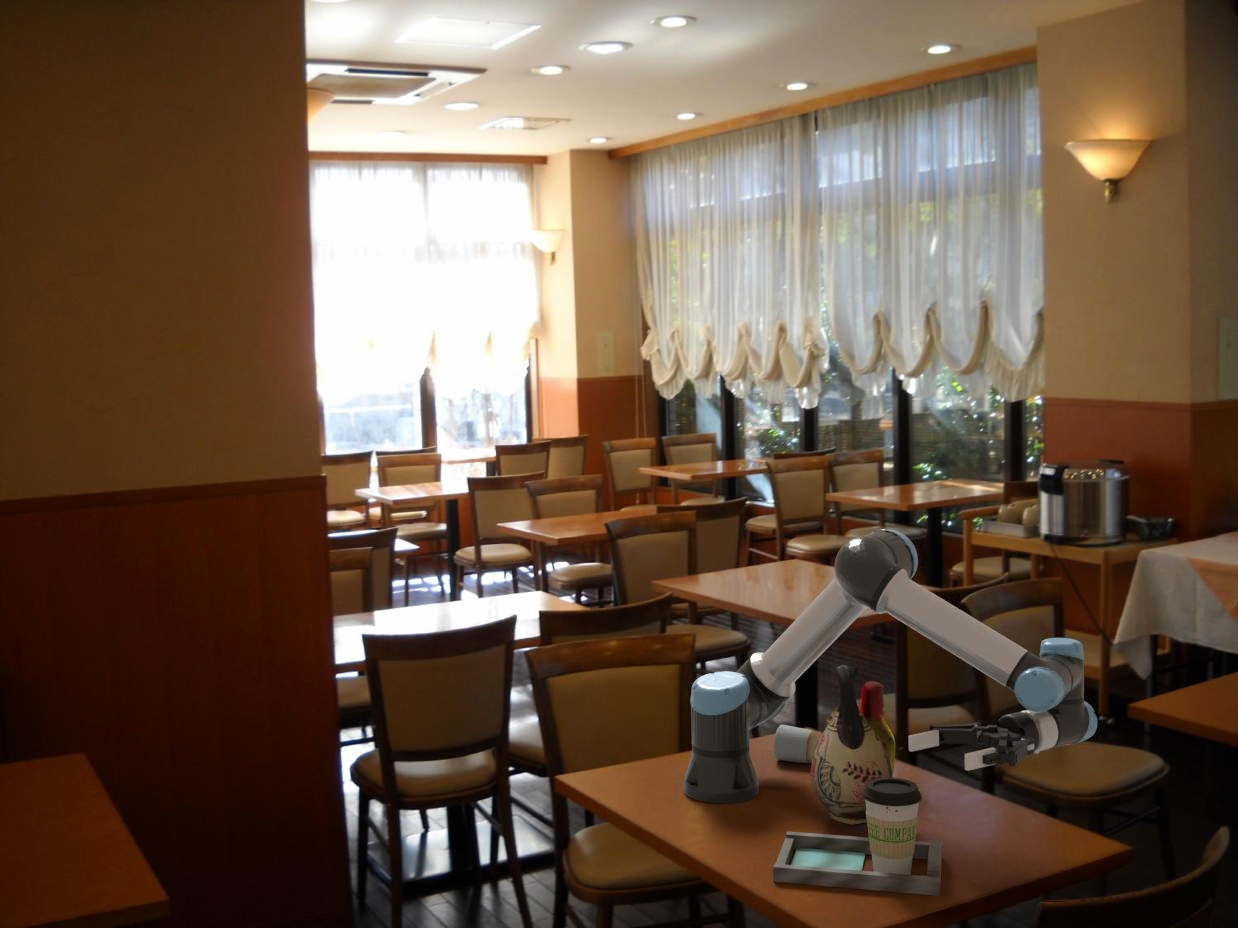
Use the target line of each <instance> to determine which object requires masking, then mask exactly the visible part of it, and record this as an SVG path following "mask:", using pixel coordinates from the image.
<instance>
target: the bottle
mask: <svg viewBox="0 0 1238 928" xmlns="http://www.w3.org/2000/svg"><path fill="white" fill-rule="evenodd" d="M884 688H885V686H884V685H883V684H881V683H880V682H878V681H871V680H869V681H866V682H865V683H864V684H863V686H862V689H861V699H860V701H861V702H860V709H859V711H860V712H861V714H862V715H863V716H864V717H865V719H866V720H867V721H868V723H869V724H870V726H871V727H872V728H873V729H874V731H875V732H876V734H877V735H878V737H879V738H880V740H881V742H882V743H883V745H884V747H885V749H886V752H887V754H888V757H889V760H890V764H891V768H892V776H893V775H894V772H895V762H896V758H895V755H896V740H895V737H894V734H893V732H892V731H891V729H890V727H889V726H888V724H887V723H886V721H885V711H884V708H885V707H884V706H885V704H884Z"/></svg>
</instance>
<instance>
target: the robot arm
mask: <svg viewBox="0 0 1238 928" xmlns="http://www.w3.org/2000/svg"><path fill="white" fill-rule="evenodd" d="M918 564H919V558H918V552H917V549H916V547H915V545H914V544H913V542H912V541H911V539H910V538H909V537H908V536H907V535H905V534H904V533H902V532H900V531H898V530H895V529H884V528H883V529H877V530H874V531H872V532H871V533H868V534H865V535H864V534H863V535H861V536H857V537H854V538H852V539H850V540H848V541H846V542H845V543H844V544H843V545H842V546H841V548H840V549H839V550H838V552H837V554H836V557H835V560H834V569H833V571H834V572H833V573H834V579H833V580H832V581H831V582H830V583H829V584H828V585H827V586H826V587H825V588H824V589H823V590H822V592H821V593H820V594H818V596H817V597H816V598H815V599H814V600H813V601H812V602H811V603H810V604H809V605H808V606H807V607H806V608H805V609H804V610H803V612H802V613H800V615H799V616H798V617H797V618H796V619H795V620H794V621H793V622H792V623H791V624H790V626H788V627H787V628H786V629H785V630H784V631H783V633H781V635H780V636H779V637H778V638H777V639H776V640H775V641H774V642H773V643H772V644H771V645H770V647H769V648H767V650H765V652H754V653H752V655H751V656H750V657H749V658H748V659H747V660H746V661H745V662H744V663H743V664H742V665H741V666H740V667H739V669H737V670H736V671H728V670H725V671H722V670H721V671H715V672H713V673H706V674H704V675H701V676H699V677H698V678H697V679H695V680H694V682H693V683H692V686H691V695H690V699H689V700H690V701H689V702H690V707H691V708H690V709H691V710H690V713H691V716H690V717H691V718H690V719H691V756H690V759H689V763H688V766H687V768H686V769H687V770H686V774H685V776H684V780H683V792H684V794H685V795H686V796H687V797H689V798H691V799H693V800H695V801H696V800H697V801H700V802H705V803H713V804H731V803H740V802H744V801H748V800H751V799H754V798H755V797H756V796H757V795H758V794H759V791H760V790H759V787H760V786H759V779H758V776H757V773H756V772H757V771H756V769H755V767H754V763H753V761H752V758H751V757H752V756H751V753H750V730H752V729H754V728H756V727H757V726H759V725H761V724H763V723H765V722H768V721H770V720H772V719H774V718H775V717H777V716H778V715H779V714H780V713H781V712H782V711H783V709H784V708H785V707H786V705H787V703H788V700H789V699H790V698H791V697H792V696H793V695H794V693H795V692H796V683H795V682H796V681H797V680H798V679H799V678H800V677H801V676H802V675H803V674H804V673H805V672H806V671H808V669H809V668H810V667H811V666H812V665H813V664H814V663H815V662H816V661H817V660H818V659H819V657H821V656H822V655H823V653H824V652H825V651H827V649H828V648H829V647H830V646H831V645H832V644H833V643H834V642H835V641H836V640H837V639H838V638H839V637H840V636H841V635H842V634H843V633H844V632H845V631H846V630H847V629H848V628H849V627H850V625H852V624H853V623H854V622H855V621H856V620H857V619H858V617H860V616H861V615H862V614H863V613H864V611H866V609H869V610H872V611H873V612H875V613H876V614H879V615H881V614H885V613H887V614H888V615H890V616H892V617H893V618H895V619H896V620H897V621H899V622H901V623H902V624H904V625H906V626H908V627H909V628H911V629H912V630H914V631H915V632H917V633H919V634H920V635H922V636H923V637H925V638H927V639H928V640H930V641H931V642H933V643H935V644H936V645H938V646H940V647H941V648H943V649H945V650H946V651H947V652H949V653H951V654H952V655H954V656H956V657H957V658H959V659H961V660H962V661H964V662H965V663H966V664H969V665H970V666H971V667H973V668H975V669H977V670H978V671H980V672H981V673H983V674H985V675H986V676H988V677H990V678H991V679H993V680H994V681H996V682H997V683H999V684H1001V685H1002V686H1004V687H1005V688H1008V689H1009V690H1010V691H1012V692H1013V693H1014V695H1015V697H1016V700H1017V701H1018V702H1019V704H1021V706H1022V707H1023V708H1025V710H1021V711H1017V712H1013V713H1009V714H1004V715H1003V716H1001V717H1000V718H999V719H998V720H997V722H996V724H995V725H993V724H989V725H986V726H983V725H982V723H981V722H977V721H976V722H971V723H957V724H938V725H937V724H936V725H935V724H934V725H933V724H932V725H928V731H924V732H923V731H922V732H919V733H914V734H910V735H908V736H907V737H908V752H912V753H913V752H916V751H917V752H918V751H921V750H925V749H929V748H937V747H938V746H940V744H949V745H950V744H951V745H952V744H954V745H957V744H958V745H959V744H960V745H972V746H973V747H975V748H984V749H980V750H976V751H971V752H967V753H964V770H965V771H973V770H978V769H981V768H985V767H989V766H994V765H996V764H999V765H1006V763H1008V766H1009V767H1016V766H1017V765H1018V764H1019V763H1021V762H1022V761H1023V760H1024V759H1025V758H1027V756H1029V755H1033V754H1035V755H1039V753H1040V752H1042V751H1045V750H1051V749H1054V748H1059V747H1065V746H1069V745H1076V744H1078V743H1081V742H1084V741H1086V740H1089V739H1090V738H1091V737H1092V736H1094V734H1095V733H1096V731H1097V727H1098V717H1097V715H1096V713H1095V709H1094V708H1093V707H1092V705H1091V704H1089V703H1088V702H1087V701H1086V700H1085V696H1084V695H1085V694H1084V693H1085V686H1084V683H1085V682H1084V681H1085V676H1084V675H1085V673H1084V672H1085V671H1084V670H1085V667H1084V666H1085V662H1086V661H1085V657H1084V645H1083V644H1082V642H1081V641H1079V640H1078V639H1073V638H1068V637H1050V638H1046V639H1044V640H1042V641H1041V644H1040V649H1039V651H1040V652H1039V655H1038V656H1037V655H1036V654H1034V653H1032V652H1030V651H1029V650H1028V649H1025V648H1024V647H1022V646H1021V645H1019V644H1018V643H1016V642H1014V641H1013V640H1011V639H1009V638H1007V637H1006V636H1005V635H1003V634H1001V633H1000V632H997V631H996V630H994V629H992V628H991V627H989V626H988V625H986V624H985V623H983V622H981V621H980V620H978V619H977V618H975V617H973V616H972V615H970V614H968V613H967V612H965V611H963V610H961V609H959V607H957V606H955V605H953V604H952V603H950V602H948V601H946V600H945V599H944V598H942V597H940V596H938V595H936V594H935V593H934V592H932V591H931V590H928V589H927V588H926V587H923V586H922V585H920V584H918V583H917V582H915V581H913V580H912V578H913V577H914V576H915V574H916V572H917V570H918V566H919V565H918ZM978 738H979V741H978Z"/></svg>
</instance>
